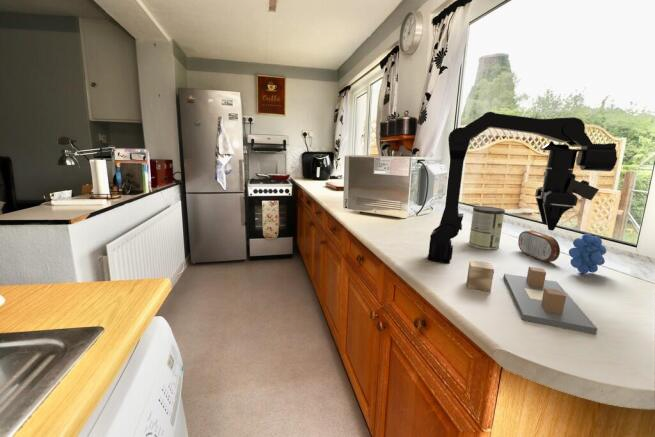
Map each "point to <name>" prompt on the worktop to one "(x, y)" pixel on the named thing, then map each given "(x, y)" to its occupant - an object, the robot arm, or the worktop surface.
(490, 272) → the maple block
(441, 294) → the worktop surface
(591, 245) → the grapes
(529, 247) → the tin
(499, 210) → the coffee can
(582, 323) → the board
